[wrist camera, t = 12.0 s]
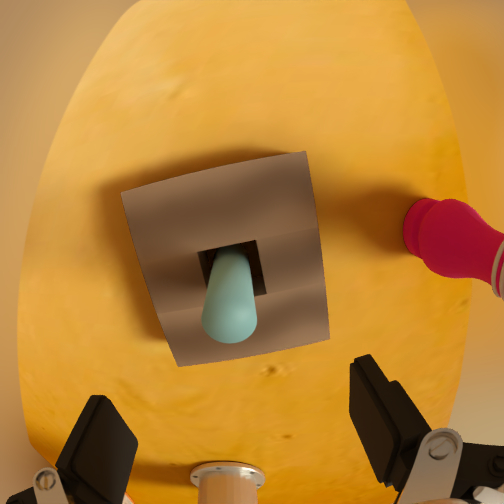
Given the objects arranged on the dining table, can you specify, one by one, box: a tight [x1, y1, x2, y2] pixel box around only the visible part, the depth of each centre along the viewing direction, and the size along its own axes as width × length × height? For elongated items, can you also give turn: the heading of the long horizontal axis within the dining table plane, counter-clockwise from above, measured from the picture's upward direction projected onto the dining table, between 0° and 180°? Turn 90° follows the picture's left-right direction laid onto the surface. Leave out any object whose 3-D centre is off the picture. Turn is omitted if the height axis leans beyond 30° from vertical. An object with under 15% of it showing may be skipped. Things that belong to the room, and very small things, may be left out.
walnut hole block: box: [121, 151, 330, 367], centre depth 24 cm, size 16×14×4 cm
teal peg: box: [201, 243, 257, 343], centre depth 20 cm, size 3×3×11 cm
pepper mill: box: [403, 198, 504, 300], centre depth 16 cm, size 7×7×20 cm
